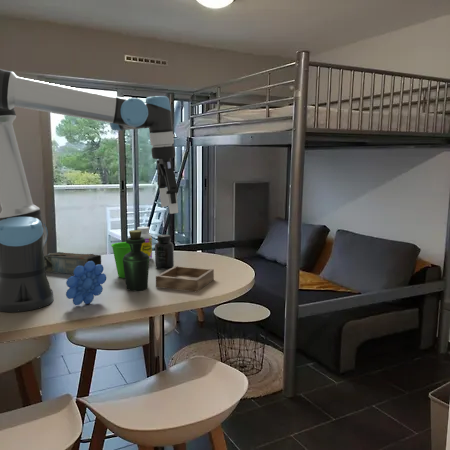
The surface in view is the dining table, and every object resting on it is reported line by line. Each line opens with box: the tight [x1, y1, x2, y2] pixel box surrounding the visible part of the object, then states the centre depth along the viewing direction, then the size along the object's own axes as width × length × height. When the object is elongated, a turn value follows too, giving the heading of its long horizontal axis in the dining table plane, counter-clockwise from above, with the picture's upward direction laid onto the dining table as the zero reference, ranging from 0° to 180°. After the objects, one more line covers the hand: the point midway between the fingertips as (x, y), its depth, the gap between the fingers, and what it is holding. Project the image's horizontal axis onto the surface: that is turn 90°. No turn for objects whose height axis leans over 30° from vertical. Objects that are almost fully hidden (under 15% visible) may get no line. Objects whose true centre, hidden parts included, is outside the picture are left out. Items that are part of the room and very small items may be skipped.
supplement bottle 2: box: [154, 234, 175, 270], centre depth 158 cm, size 7×7×12 cm
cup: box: [110, 241, 131, 279], centre depth 147 cm, size 9×9×11 cm
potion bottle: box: [123, 229, 150, 292], centre depth 132 cm, size 8×8×18 cm
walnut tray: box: [155, 265, 215, 293], centre depth 139 cm, size 14×14×4 cm
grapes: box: [65, 261, 107, 306], centre depth 119 cm, size 12×7×12 cm, turn 132°
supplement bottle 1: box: [136, 226, 153, 261], centre depth 171 cm, size 7×7×13 cm
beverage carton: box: [44, 251, 102, 275], centre depth 153 cm, size 8×19×7 cm, turn 71°
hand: (169, 209), depth 145 cm, fingers open, 13 cm apart
